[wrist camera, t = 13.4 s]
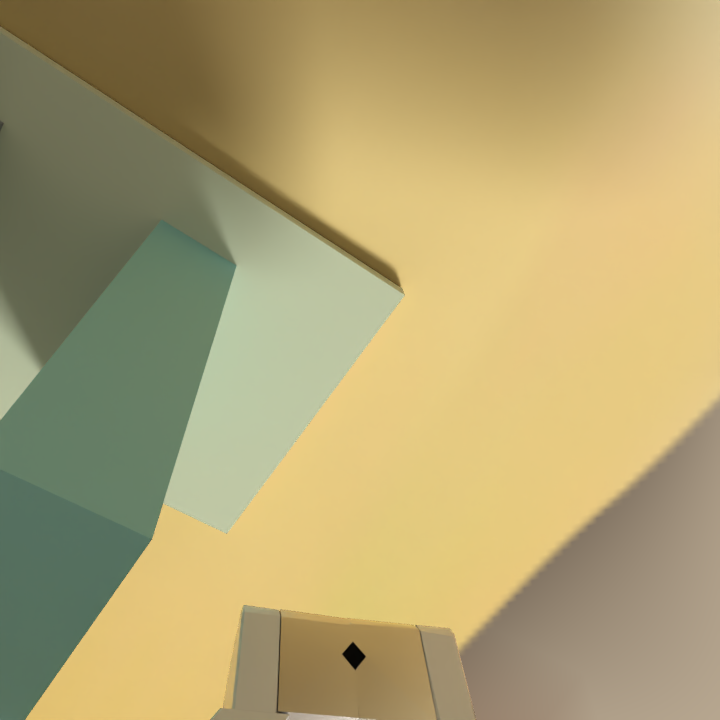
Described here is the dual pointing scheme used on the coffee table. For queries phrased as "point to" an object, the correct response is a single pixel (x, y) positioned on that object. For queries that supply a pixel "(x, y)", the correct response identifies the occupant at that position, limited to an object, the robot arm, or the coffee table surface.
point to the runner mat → (123, 238)
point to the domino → (98, 453)
